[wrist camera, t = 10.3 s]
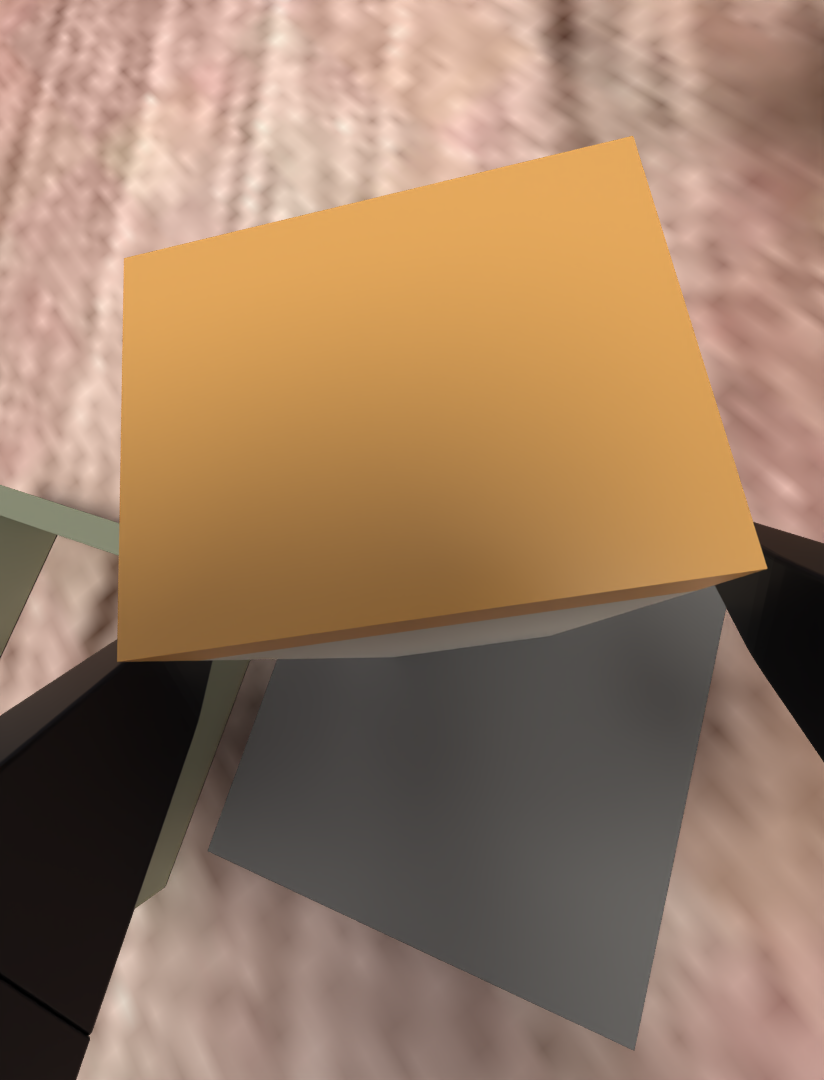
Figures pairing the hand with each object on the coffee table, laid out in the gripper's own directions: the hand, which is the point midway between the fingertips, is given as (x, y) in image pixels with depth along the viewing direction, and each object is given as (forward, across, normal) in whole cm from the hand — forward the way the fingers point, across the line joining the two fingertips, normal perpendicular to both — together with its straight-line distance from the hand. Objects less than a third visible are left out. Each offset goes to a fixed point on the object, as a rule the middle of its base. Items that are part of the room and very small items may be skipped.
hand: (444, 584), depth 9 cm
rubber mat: (+4, 0, +7) cm, 9 cm away
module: (+6, 0, +5) cm, 8 cm away
